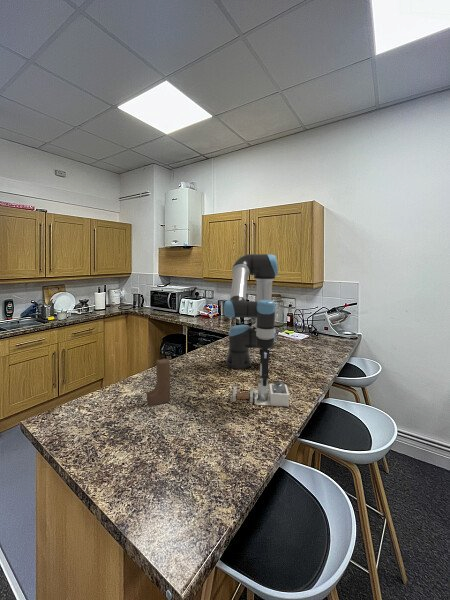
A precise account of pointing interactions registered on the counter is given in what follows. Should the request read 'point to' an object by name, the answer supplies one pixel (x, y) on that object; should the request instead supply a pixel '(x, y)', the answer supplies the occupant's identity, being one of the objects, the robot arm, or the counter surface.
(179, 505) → the counter surface
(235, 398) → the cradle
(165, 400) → the wooden block
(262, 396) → the cell
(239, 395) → the plate
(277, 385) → the cell
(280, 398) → the rack
